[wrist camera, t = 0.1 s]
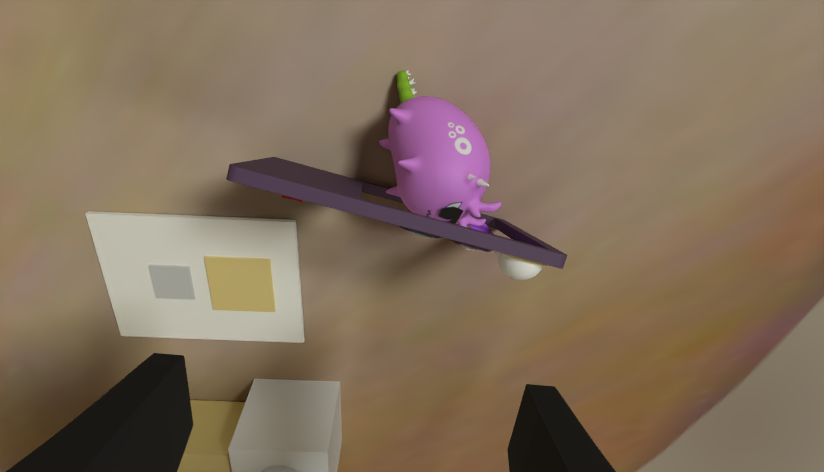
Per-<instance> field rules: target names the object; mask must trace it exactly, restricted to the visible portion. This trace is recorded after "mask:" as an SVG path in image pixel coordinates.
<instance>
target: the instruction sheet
mask: <svg viewBox="0 0 824 472" xmlns="http://www.w3.org/2000/svg"><path fill="white" fill-rule="evenodd" d="M86 217H87V221H88V224H89V228H90V231H91V235H92V238H93V241H94V245H95V248H96V252H97V255H98V259H99V262H100V266H101V269H102V272H103V276H104V279H105V283H106V286H107V290H108V293H109V296H110V300H111V303H112V307H113V310H114V314H115V317H116V320H117V324H118V327H119V331H120V334H121V336H135V337H162V338H189V339H216V340H243V341H270V342H296V343H304V341H305V337H304V323H303V309H302V296H301V282H300V268H299V254H298V240H297V227H296V220H287V219H263V218H239V217H214V216H190V215H166V214H142V213H117V212H93V211H88V212H87V213H86Z"/></svg>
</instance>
